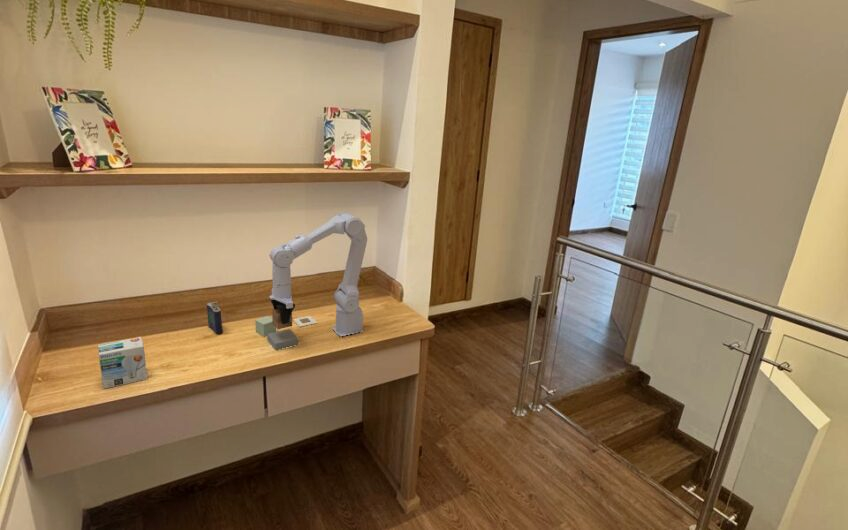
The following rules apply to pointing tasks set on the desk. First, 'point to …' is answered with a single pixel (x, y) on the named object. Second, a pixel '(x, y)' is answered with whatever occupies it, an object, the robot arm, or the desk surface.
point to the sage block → (264, 326)
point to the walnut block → (279, 320)
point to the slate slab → (282, 339)
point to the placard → (304, 321)
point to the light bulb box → (122, 362)
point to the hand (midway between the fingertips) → (282, 320)
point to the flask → (214, 318)
